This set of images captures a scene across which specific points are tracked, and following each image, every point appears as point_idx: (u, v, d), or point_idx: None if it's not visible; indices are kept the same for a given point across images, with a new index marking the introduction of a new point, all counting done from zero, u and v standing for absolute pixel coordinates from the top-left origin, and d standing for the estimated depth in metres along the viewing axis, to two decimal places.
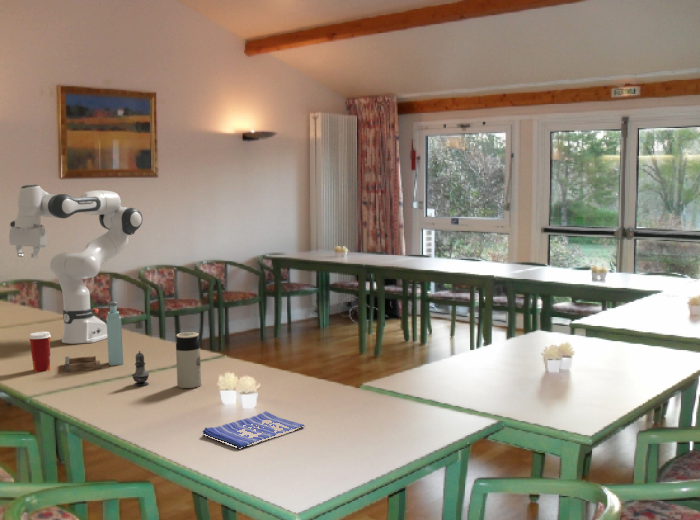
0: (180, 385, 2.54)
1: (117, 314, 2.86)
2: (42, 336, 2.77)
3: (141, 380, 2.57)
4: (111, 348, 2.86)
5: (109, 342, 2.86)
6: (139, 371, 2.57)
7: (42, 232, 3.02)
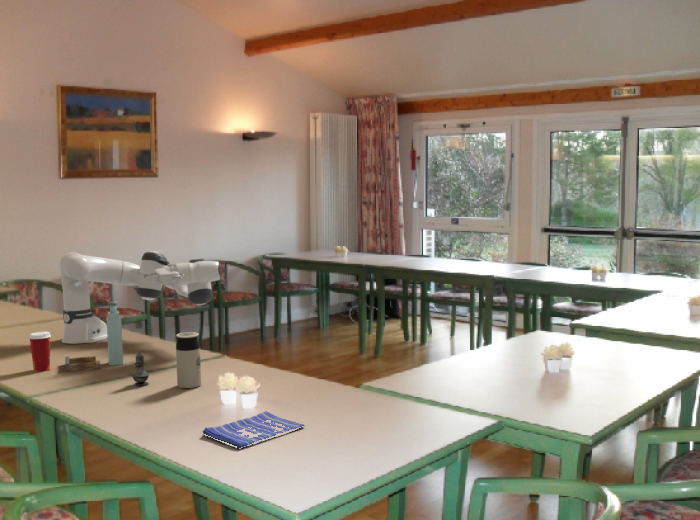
0: (180, 385, 2.54)
1: (117, 314, 2.86)
2: (42, 336, 2.77)
3: (141, 380, 2.57)
4: (111, 348, 2.86)
5: (109, 342, 2.86)
6: (139, 371, 2.57)
7: (175, 276, 2.86)
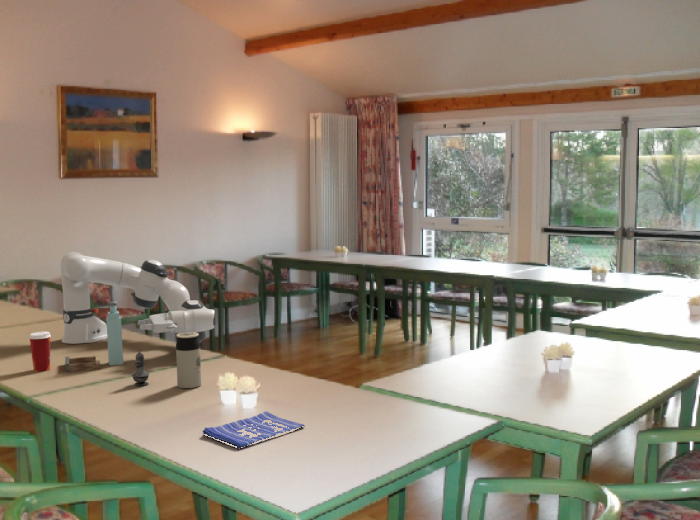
0: (180, 385, 2.54)
1: (117, 314, 2.86)
2: (42, 336, 2.77)
3: (141, 380, 2.57)
4: (111, 348, 2.86)
5: (109, 342, 2.86)
6: (139, 371, 2.57)
7: (170, 326, 2.85)
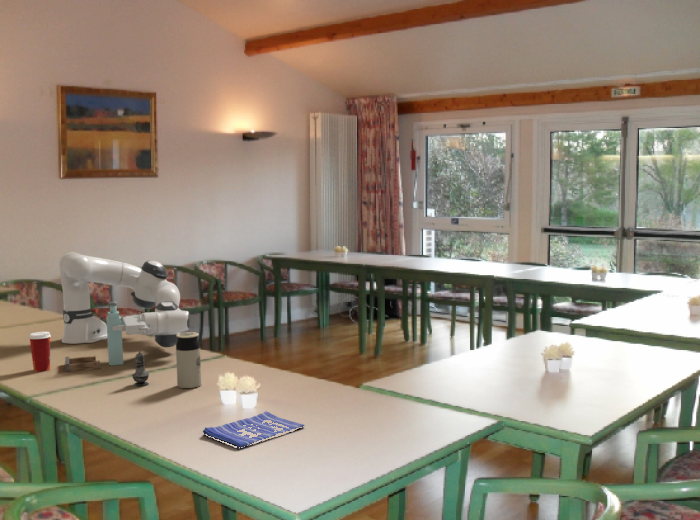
0: (180, 385, 2.54)
1: (117, 314, 2.86)
2: (42, 336, 2.77)
3: (141, 380, 2.57)
4: (111, 348, 2.86)
5: (109, 342, 2.86)
6: (139, 371, 2.57)
7: (142, 328, 2.82)
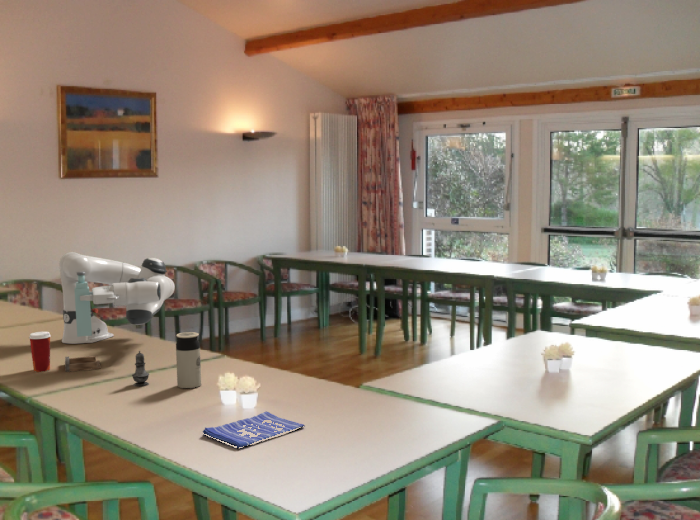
0: (180, 385, 2.54)
1: (85, 284, 2.81)
2: (42, 336, 2.77)
3: (141, 379, 2.57)
4: (79, 319, 2.81)
5: (77, 313, 2.80)
6: (139, 371, 2.57)
7: (110, 297, 2.77)
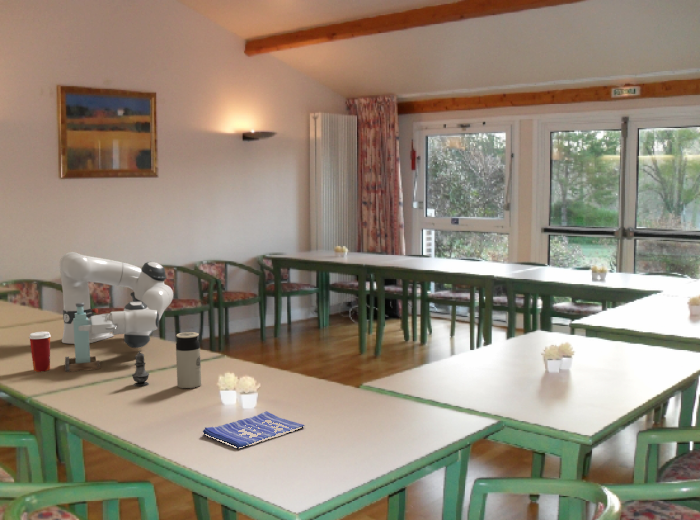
0: (180, 385, 2.54)
1: (84, 315, 2.82)
2: (42, 336, 2.77)
3: (141, 379, 2.57)
4: (78, 350, 2.82)
5: (76, 344, 2.81)
6: (139, 371, 2.57)
7: (108, 327, 2.78)
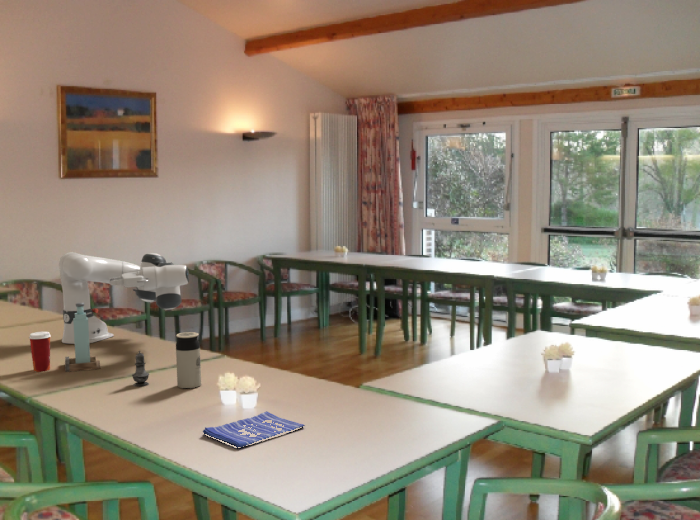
0: (180, 385, 2.54)
1: (84, 315, 2.82)
2: (42, 336, 2.77)
3: (141, 379, 2.57)
4: (78, 350, 2.82)
5: (76, 344, 2.81)
6: (139, 371, 2.57)
7: (140, 280, 2.81)
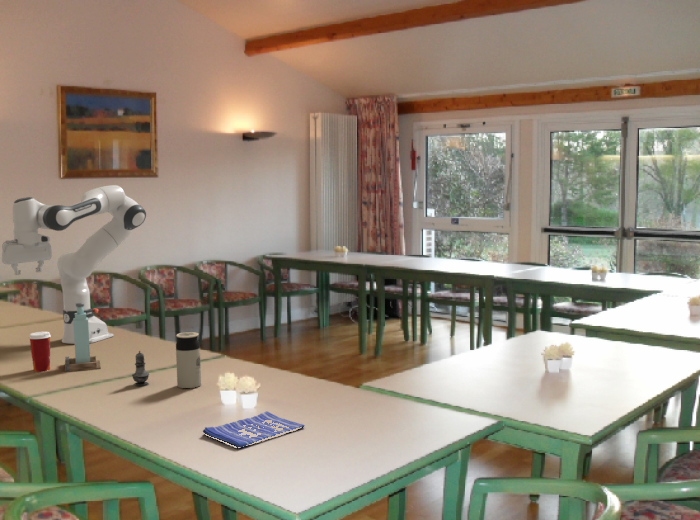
0: (180, 385, 2.54)
1: (84, 315, 2.82)
2: (42, 336, 2.77)
3: (141, 380, 2.57)
4: (78, 350, 2.82)
5: (76, 344, 2.81)
6: (139, 371, 2.57)
7: None
